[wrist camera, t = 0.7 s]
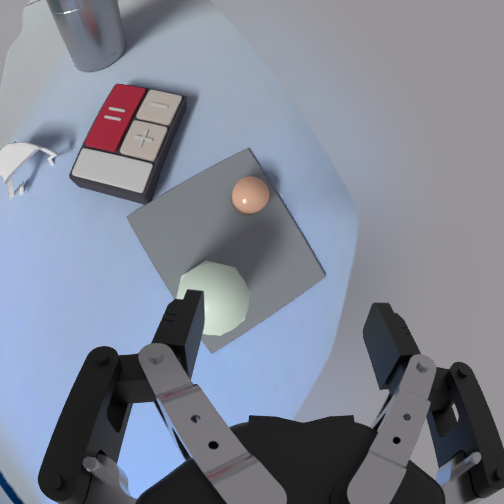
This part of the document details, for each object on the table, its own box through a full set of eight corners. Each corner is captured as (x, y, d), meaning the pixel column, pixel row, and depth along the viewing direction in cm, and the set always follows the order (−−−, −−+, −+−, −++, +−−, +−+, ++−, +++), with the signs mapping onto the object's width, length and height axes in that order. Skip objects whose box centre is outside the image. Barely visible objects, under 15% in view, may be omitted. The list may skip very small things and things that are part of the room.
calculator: (187, 93, 32) (144, 196, 30) (187, 110, 37) (149, 206, 34) (114, 79, 31) (65, 176, 28) (119, 96, 35) (77, 186, 32)
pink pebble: (223, 194, 36) (226, 187, 32) (251, 178, 37) (257, 170, 33) (240, 222, 36) (245, 218, 33) (268, 206, 37) (275, 200, 33)
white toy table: (5, 212, 30) (-14, 206, 25) (0, 164, 29) (-17, 154, 24) (67, 176, 32) (52, 165, 27) (59, 128, 32) (46, 113, 27)
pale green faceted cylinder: (171, 282, 34) (163, 287, 24) (215, 254, 35) (224, 249, 25) (199, 326, 34) (203, 348, 24) (243, 298, 36) (262, 309, 26)
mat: (127, 217, 33) (126, 217, 33) (247, 149, 37) (247, 148, 37) (211, 353, 35) (211, 353, 34) (324, 276, 38) (325, 276, 38)
